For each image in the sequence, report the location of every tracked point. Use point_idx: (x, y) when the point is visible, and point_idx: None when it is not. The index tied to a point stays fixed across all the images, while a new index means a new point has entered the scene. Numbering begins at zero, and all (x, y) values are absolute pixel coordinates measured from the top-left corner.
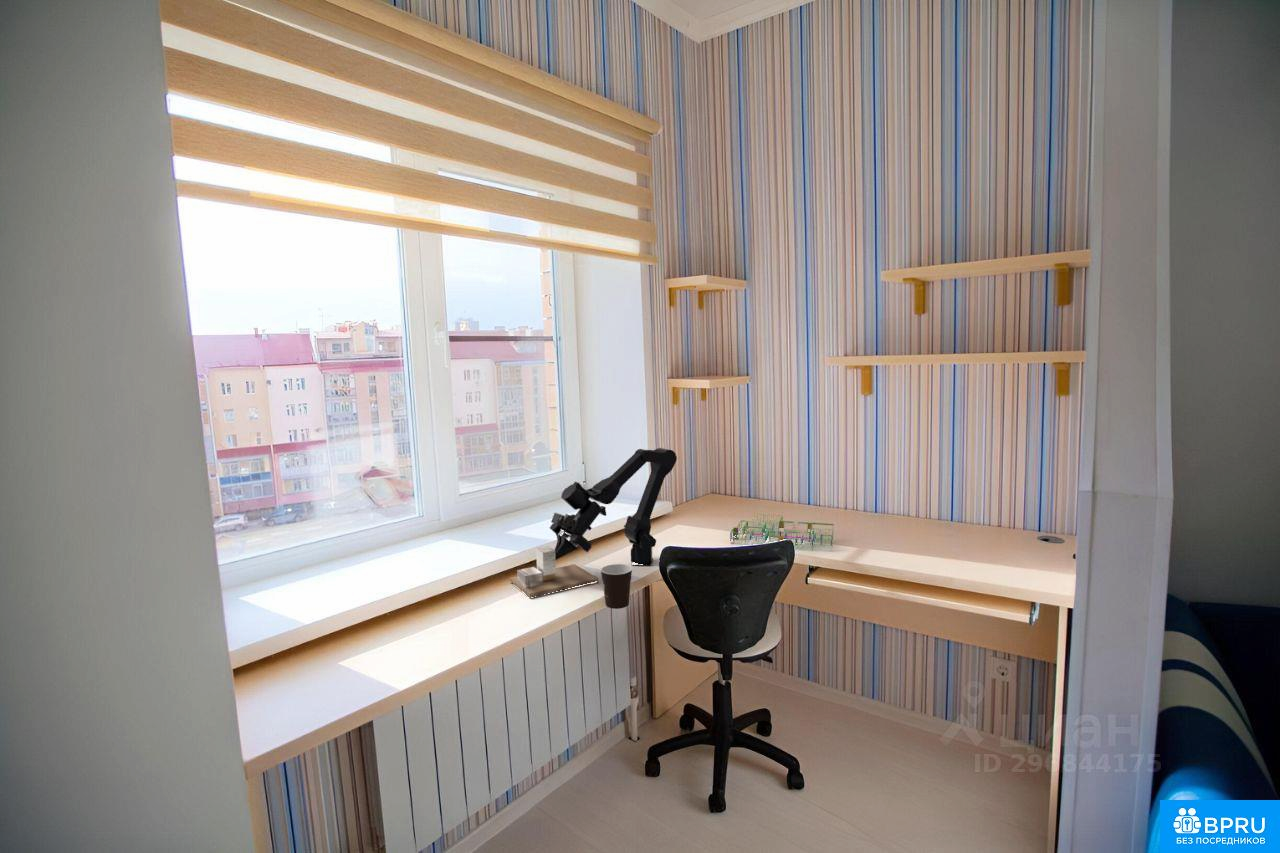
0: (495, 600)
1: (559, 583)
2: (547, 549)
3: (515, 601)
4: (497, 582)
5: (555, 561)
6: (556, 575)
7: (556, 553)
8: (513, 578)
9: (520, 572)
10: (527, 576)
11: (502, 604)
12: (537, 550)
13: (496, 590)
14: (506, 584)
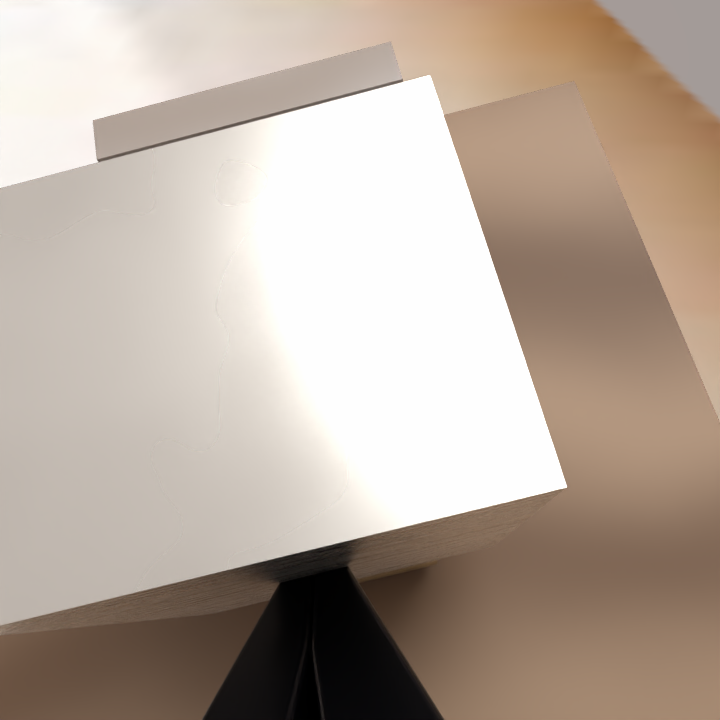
0: (139, 2)
1: (117, 628)
2: (182, 389)
3: (29, 142)
4: (609, 17)
5: (126, 620)
6: (461, 663)
7: (212, 715)
8: (536, 117)
9: (273, 76)
10: (102, 154)
11: (24, 48)
12: (330, 122)
13: (379, 9)
14: (517, 90)
